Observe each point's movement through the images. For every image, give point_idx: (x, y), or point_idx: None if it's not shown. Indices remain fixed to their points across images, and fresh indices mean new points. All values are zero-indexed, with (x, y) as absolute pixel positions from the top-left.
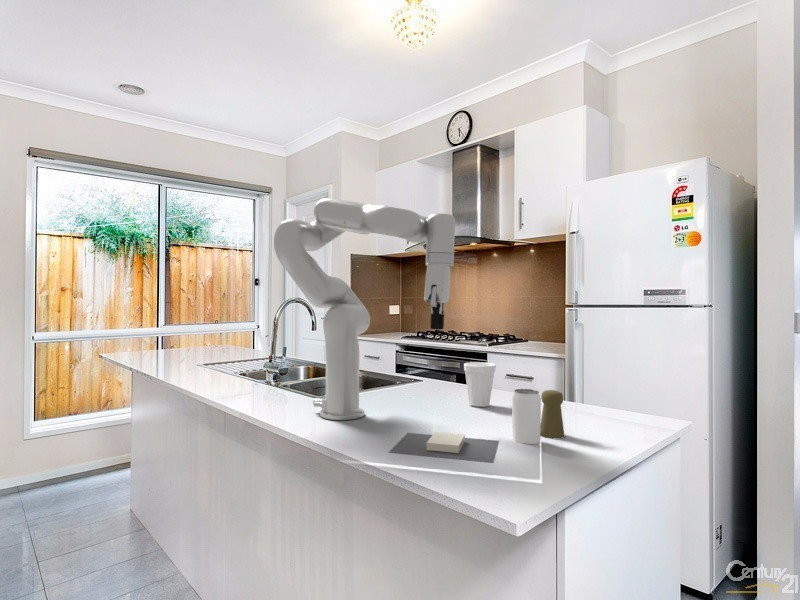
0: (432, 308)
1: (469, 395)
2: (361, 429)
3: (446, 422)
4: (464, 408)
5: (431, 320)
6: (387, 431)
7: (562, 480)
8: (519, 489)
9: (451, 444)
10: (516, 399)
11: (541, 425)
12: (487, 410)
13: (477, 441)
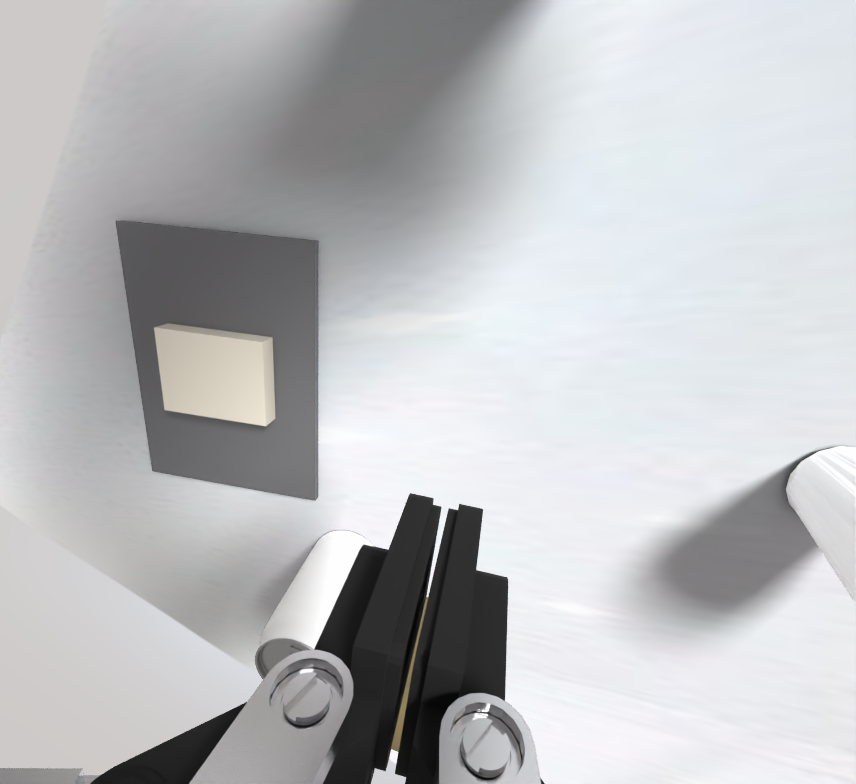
0: (135, 762)
1: (853, 466)
2: (343, 33)
3: (514, 357)
4: (772, 422)
5: (383, 566)
6: (344, 155)
7: (137, 568)
8: (66, 497)
9: (165, 392)
10: (271, 621)
11: None
12: (732, 504)
13: (291, 449)
